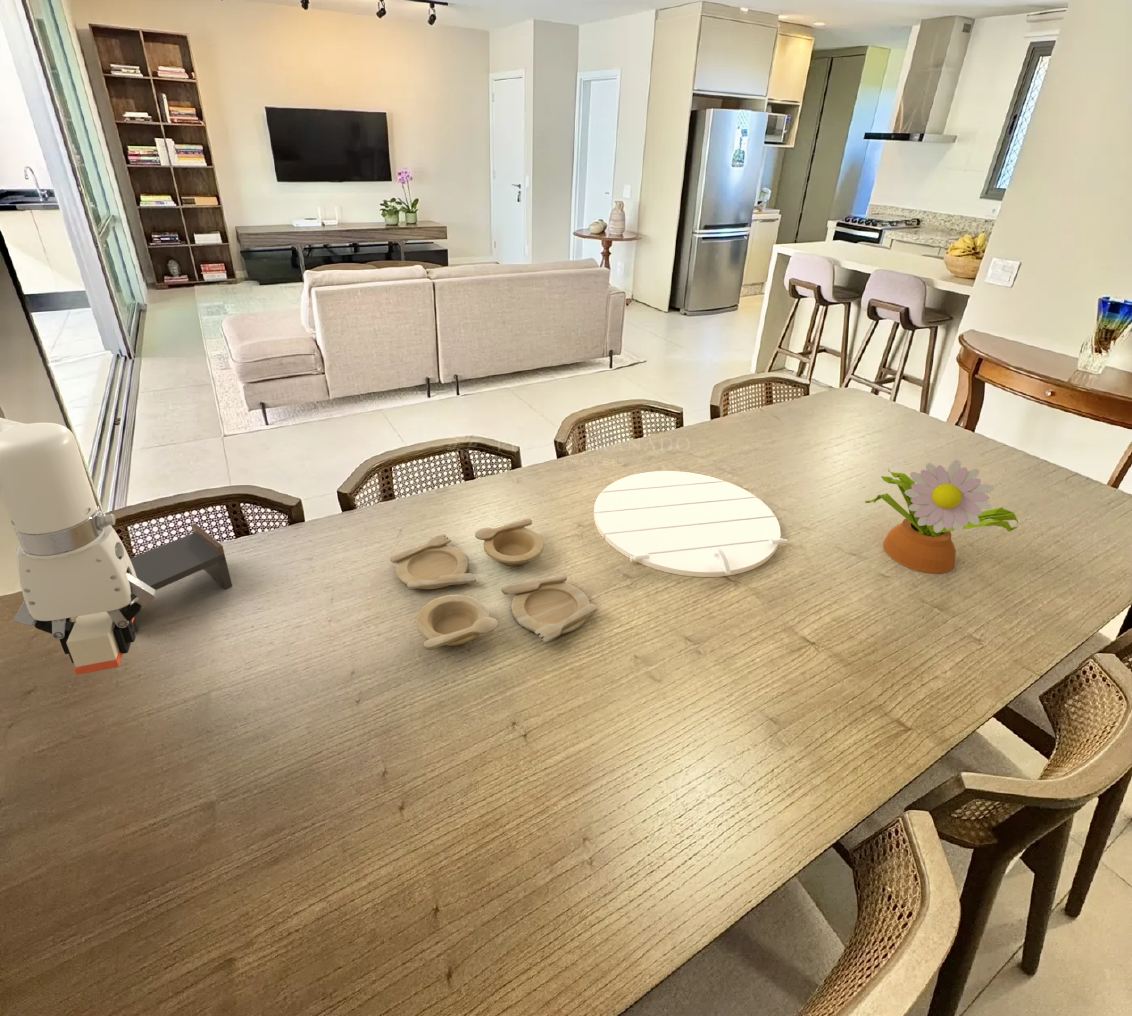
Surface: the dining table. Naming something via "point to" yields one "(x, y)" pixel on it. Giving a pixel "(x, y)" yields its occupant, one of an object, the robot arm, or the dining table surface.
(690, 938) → the dining table surface
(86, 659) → the orange-based notched block
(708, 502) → the lazy susan
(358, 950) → the dining table surface
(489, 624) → the tableware set
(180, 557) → the shoe shelf
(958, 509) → the decorative plant
